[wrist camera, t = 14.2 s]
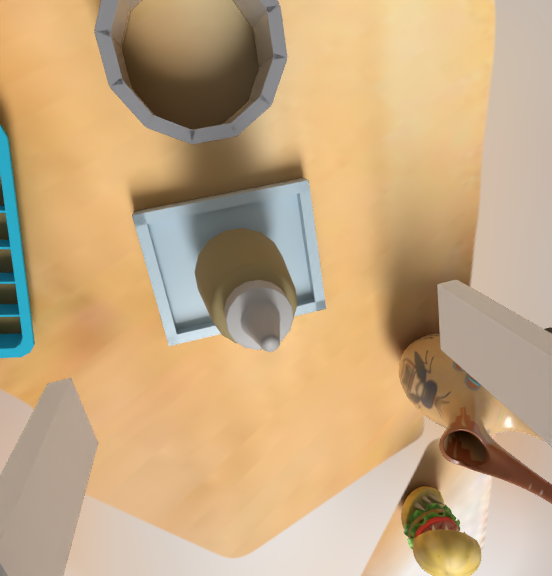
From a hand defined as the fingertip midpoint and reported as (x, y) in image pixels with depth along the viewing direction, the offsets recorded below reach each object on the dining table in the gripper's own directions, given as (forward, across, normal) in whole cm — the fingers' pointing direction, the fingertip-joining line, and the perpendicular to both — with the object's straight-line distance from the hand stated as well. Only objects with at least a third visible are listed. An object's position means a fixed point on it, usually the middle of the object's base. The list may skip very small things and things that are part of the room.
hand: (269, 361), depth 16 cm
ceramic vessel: (+29, +20, -21) cm, 41 cm away
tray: (+29, +1, -5) cm, 29 cm away
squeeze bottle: (+28, +1, -5) cm, 29 cm away
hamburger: (+29, +17, -43) cm, 55 cm away
